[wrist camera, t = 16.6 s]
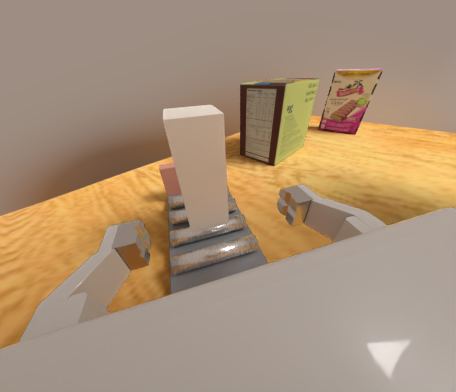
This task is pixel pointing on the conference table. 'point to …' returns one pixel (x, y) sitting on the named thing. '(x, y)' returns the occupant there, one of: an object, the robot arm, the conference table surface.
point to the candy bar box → (349, 99)
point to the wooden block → (199, 162)
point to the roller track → (206, 242)
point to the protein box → (275, 117)
